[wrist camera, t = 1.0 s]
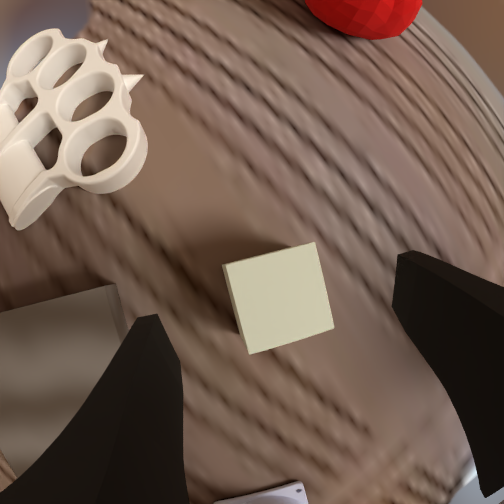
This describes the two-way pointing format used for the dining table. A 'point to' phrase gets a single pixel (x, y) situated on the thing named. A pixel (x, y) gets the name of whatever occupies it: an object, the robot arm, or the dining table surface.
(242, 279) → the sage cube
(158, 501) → the robot arm
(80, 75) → the white brass knuckles
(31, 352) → the taupe base
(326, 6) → the tomato
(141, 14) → the dining table surface
